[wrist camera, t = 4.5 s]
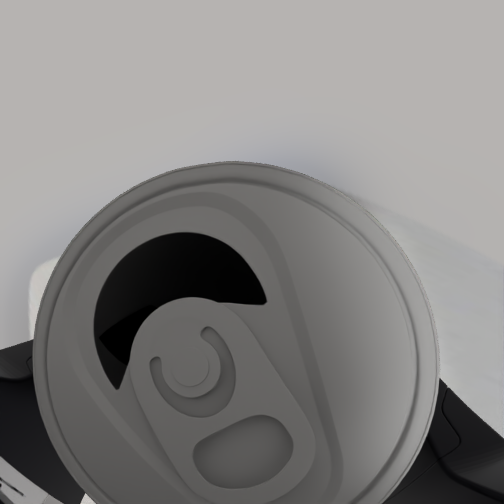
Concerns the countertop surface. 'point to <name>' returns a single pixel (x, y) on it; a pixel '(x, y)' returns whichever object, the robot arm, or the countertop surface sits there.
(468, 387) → the countertop surface
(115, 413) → the beverage can
